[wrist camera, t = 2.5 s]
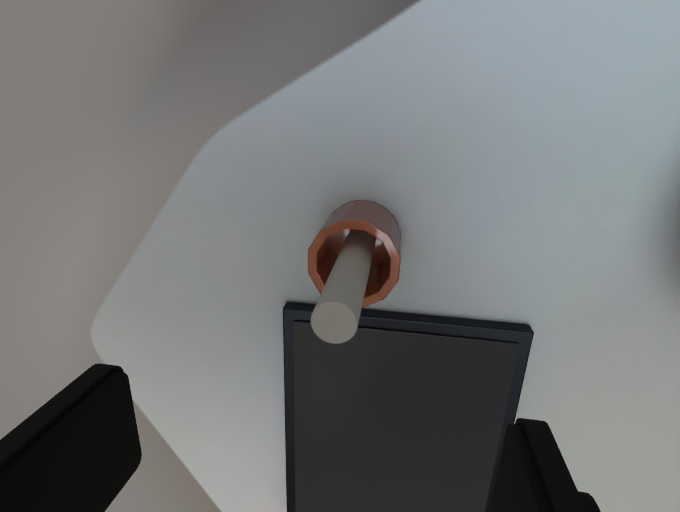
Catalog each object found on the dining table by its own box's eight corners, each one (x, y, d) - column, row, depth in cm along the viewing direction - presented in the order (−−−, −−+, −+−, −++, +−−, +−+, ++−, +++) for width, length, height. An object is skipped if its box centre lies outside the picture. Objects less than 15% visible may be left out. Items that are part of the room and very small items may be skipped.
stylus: (346, 252, 26) (310, 341, 16) (347, 224, 25) (310, 299, 15) (375, 254, 26) (356, 346, 16) (376, 226, 25) (358, 303, 15)
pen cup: (324, 269, 27) (307, 302, 22) (325, 197, 25) (307, 217, 21) (397, 275, 26) (395, 311, 22) (403, 202, 25) (403, 223, 20)
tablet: (289, 512, 35) (286, 525, 34) (286, 301, 28) (281, 309, 27) (483, 543, 33) (485, 559, 32) (529, 324, 26) (535, 333, 25)
